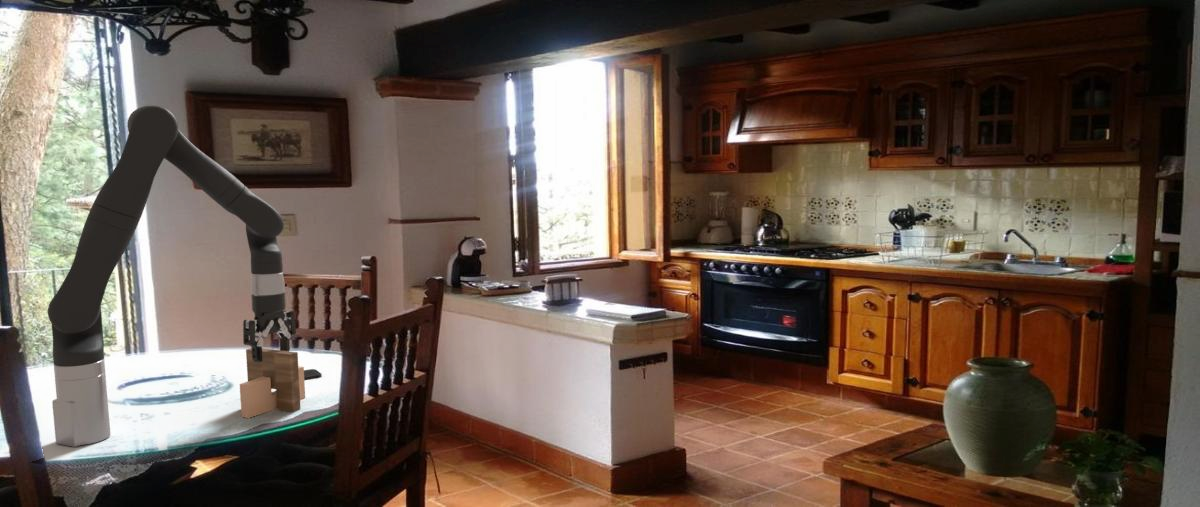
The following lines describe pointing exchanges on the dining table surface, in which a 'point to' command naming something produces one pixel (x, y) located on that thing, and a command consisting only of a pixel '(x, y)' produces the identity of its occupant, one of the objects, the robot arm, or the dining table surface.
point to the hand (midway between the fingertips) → (271, 357)
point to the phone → (311, 374)
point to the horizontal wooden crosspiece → (262, 395)
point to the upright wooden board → (278, 375)
